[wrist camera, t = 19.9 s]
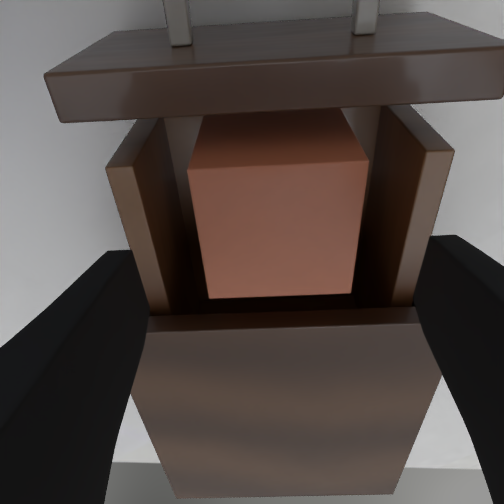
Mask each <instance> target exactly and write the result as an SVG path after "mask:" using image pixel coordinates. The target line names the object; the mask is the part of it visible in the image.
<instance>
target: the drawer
mask: <svg viewBox="0 0 504 504" xmlns="http://www.w3.org/2000/svg"><path fill="white" fill-rule="evenodd" d="M163 4H164V10H165V16H166V22H167V28H162V29H146V30H130V31H114V32H112V33H111V34H109V35H107V36H106V37H104V38H102V39H101V40H99V41H97V42H96V43H94V44H92V45H91V46H89V47H87V48H86V49H84V50H82V51H81V52H79V53H78V54H76V55H74V56H73V57H71V58H69V59H68V60H66V61H64V62H63V63H61V64H59V65H58V66H56V67H54V68H53V69H51V70H49V71H48V72H46V73H44V80H45V82H46V85H47V88H48V91H49V93H50V96H51V99H52V102H53V104H54V107H55V110H56V113H57V116H58V118H59V121H60V122H61V123H78V122H96V121H114V120H132V119H137V121H136V122H135V124H134V125H133V127H132V128H131V130H130V131H129V133H128V134H127V136H126V137H125V139H124V140H123V142H122V143H121V145H120V146H119V148H118V149H117V151H116V152H115V154H114V155H113V157H112V158H111V160H110V161H109V163H108V164H107V166H106V167H105V170H106V173H107V176H108V179H109V183H110V186H111V189H112V192H113V195H114V199H115V202H116V205H117V208H118V211H119V215H120V218H121V221H122V224H123V227H124V231H125V234H126V237H127V240H128V243H129V247H130V250H132V251H133V254H134V258H135V261H136V264H137V267H138V270H139V274H140V277H141V280H142V283H143V287H144V290H145V293H146V296H147V299H148V303H149V306H150V314H151V316H168V315H195V314H223V313H250V312H277V311H305V310H332V309H359V308H387V307H411V306H412V303H413V294H414V291H415V287H416V283H417V280H418V276H419V272H420V269H421V265H422V262H423V258H424V254H425V251H426V247H427V244H428V240H429V236H431V235H432V231H433V228H434V224H435V220H436V217H437V213H438V210H439V206H440V202H441V199H442V195H443V192H444V188H445V185H446V181H447V177H448V174H449V170H450V167H451V163H452V160H453V156H454V152H455V150H454V149H453V148H452V147H451V146H450V145H449V144H448V143H447V142H446V141H445V140H444V139H443V138H442V137H441V136H440V135H439V134H438V133H437V132H436V131H435V130H434V129H433V128H432V127H431V126H430V125H429V124H428V123H427V122H426V121H425V120H424V119H423V118H422V117H421V116H420V115H419V114H418V113H417V112H416V111H415V110H414V109H413V108H412V107H411V106H410V105H409V104H424V103H443V102H461V101H479V100H497V99H501V98H502V97H503V96H504V40H502V39H500V38H497V37H494V36H492V35H489V34H486V33H483V32H481V31H478V30H475V29H473V28H470V27H467V26H464V25H462V24H459V23H456V22H454V21H451V20H448V19H445V18H443V17H440V16H437V15H435V14H432V13H429V12H416V13H400V14H384V15H378V13H379V5H380V0H353V6H352V17H337V18H321V19H305V20H289V21H273V22H257V23H241V24H225V25H210V26H194V27H192V22H191V15H190V7H189V0H163ZM333 108H341V110H342V112H343V114H344V116H345V117H346V119H347V121H348V123H349V125H350V127H351V128H352V130H353V132H354V134H355V136H356V138H357V139H358V141H359V143H360V145H361V147H362V149H363V150H364V152H365V154H366V156H367V158H368V160H369V167H368V175H367V182H366V189H365V196H364V203H363V210H362V218H361V225H360V232H359V239H358V246H357V253H356V261H355V268H354V275H353V282H352V289H351V293H345V294H319V295H292V296H266V297H240V298H213V299H210V298H209V295H208V290H207V284H206V278H205V272H204V266H203V261H202V255H201V249H200V243H199V237H198V231H197V226H196V220H195V214H194V208H193V202H192V197H191V191H190V185H189V179H188V173H187V169H188V166H189V162H190V159H191V156H192V152H193V149H194V146H195V142H196V139H197V135H198V132H199V129H200V125H201V122H202V119H203V116H205V115H224V114H242V113H260V112H278V111H297V110H315V109H333Z"/></svg>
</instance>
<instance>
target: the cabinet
mask: <svg viewBox="0 0 504 504" xmlns="http://www.w3.org/2000/svg"><path fill="white" fill-rule="evenodd" d="M441 376H442V373H441V371H440V369H439V367H438V364H437V362H436V360H435V358H434V356H433V354H432V351H431V349H430V347H429V345H428V343H427V340H426V338H425V336H424V333H423V330H422V327H421V324H420V321H419V318H418V314H417V311H416V308H415V304H414V301H413V303H412V306H411V307H387V308H359V309H332V310H305V311H277V312H250V313H223V314H195V315H168V316H151V314H150V313H149V320H148V327H147V333H146V339H145V345H144V348H143V352H142V355H141V359H140V362H139V366H138V369H137V372H136V376H135V379H134V383H133V386H132V389H131V392H130V393H131V396H132V398H133V400H134V403H135V405H136V407H137V409H138V412H139V414H140V416H141V419H142V421H143V423H144V425H145V428H146V430H147V432H148V435H149V437H150V439H151V442H152V444H153V446H154V448H155V451H156V453H157V455H158V458H159V460H160V462H161V464H162V467H163V469H164V471H165V474H166V476H167V478H168V480H169V483H170V485H171V487H172V490H173V492H174V494H175V496H176V498H177V499H178V498H227V497H228V498H229V497H276V496H325V495H327V496H328V495H378V494H379V495H380V494H393V493H394V491H395V488H396V486H397V483H398V481H399V478H400V476H401V474H402V471H403V469H404V466H405V464H406V461H407V459H408V457H409V454H410V452H411V449H412V447H413V444H414V442H415V440H416V437H417V435H418V432H419V430H420V427H421V425H422V423H423V420H424V418H425V415H426V413H427V410H428V408H429V406H430V403H431V401H432V398H433V396H434V393H435V391H436V389H437V386H438V384H439V381H440V379H441Z"/></svg>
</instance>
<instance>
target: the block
mask: <svg viewBox="0 0 504 504" xmlns="http://www.w3.org/2000/svg"><path fill="white" fill-rule="evenodd" d="M368 167H369V160H368V158H367V156H366V154H365V152H364V150H363V149H362V147H361V145H360V143H359V141H358V139H357V138H356V136H355V134H354V132H353V130H352V128H351V127H350V125H349V123H348V121H347V119H346V117H345V116H344V114H343V112H342V110H341V108H333V109H315V110H297V111H278V112H260V113H242V114H224V115H205V116H203V119H202V122H201V125H200V129H199V132H198V135H197V139H196V142H195V146H194V149H193V152H192V156H191V159H190V162H189V166H188V169H187V173H188V179H189V185H190V191H191V197H192V202H193V208H194V214H195V220H196V226H197V231H198V237H199V243H200V249H201V255H202V261H203V266H204V272H205V278H206V284H207V290H208V295H209V298H210V299H213V298H240V297H266V296H292V295H319V294H345V293H351V289H352V282H353V275H354V268H355V261H356V253H357V246H358V239H359V232H360V225H361V218H362V210H363V203H364V196H365V189H366V182H367V175H368Z"/></svg>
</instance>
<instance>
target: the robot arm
mask: <svg viewBox="0 0 504 504" xmlns="http://www.w3.org/2000/svg"><path fill="white" fill-rule="evenodd" d="M413 301H414V304H415V308H416V311H417V314H418V318H419V321H420V324H421V327H422V330H423V333H424V336H425V338H426V340H427V343H428V345H429V347H430V349H431V351H432V354H433V356H434V358H435V360H436V362H437V364H438V367H439V369H440V371H441V373H442V375H443V377H444V379H445V382H446V384H447V386H448V388H449V390H450V392H451V394H452V396H453V399H454V401H455V403H456V405H457V407H458V409H459V411H460V414H461V416H462V418H463V420H464V423H465V425H466V427H467V430H468V432H469V435H470V437H471V440H472V442H473V445H474V448H475V451H476V454H477V457H478V460H479V462H480V465H481V468H482V471H483V474H484V476H485V480H486V483H487V485H488V489H489V492H490V495H491V498H492V501H493V504H504V266H502V265H501V264H500V263H498V262H497V261H495V260H494V259H492V258H491V257H489V256H488V255H486V254H485V253H483V252H482V251H480V250H479V249H477V248H476V247H474V246H473V245H471V244H470V243H468V242H467V241H465V240H464V239H462V238H460V237H459V236H457V235H440V236H429V240H428V244H427V247H426V251H425V254H424V258H423V262H422V265H421V269H420V272H419V276H418V280H417V283H416V287H415V291H414V294H413ZM149 313H150V306H149V303H148V299H147V296H146V293H145V290H144V287H143V283H142V280H141V277H140V274H139V270H138V267H137V264H136V261H135V258H134V254H133V251H132V250H116V251H107V252H106V253H105V254H104V255H102V256H101V257H100V258H99V259H98V260H97V261H96V262H95V263H94V264H93V265H92V266H91V267H90V268H88V269H87V270H86V271H85V272H84V273H83V274H82V275H81V276H80V277H79V278H78V279H77V280H76V281H75V282H74V283H73V284H72V285H71V286H70V287H69V288H68V289H66V290H65V291H64V292H63V293H62V294H61V295H60V296H59V297H58V298H57V299H56V300H55V301H54V302H53V303H52V304H50V305H49V306H48V307H47V308H46V309H45V310H44V311H43V312H42V313H40V314H39V315H38V316H37V317H36V318H35V319H34V320H32V321H31V322H30V323H29V324H28V325H27V326H25V327H24V328H23V329H22V330H21V331H20V332H18V333H17V334H16V335H15V336H14V337H13V338H12V339H10V340H9V341H8V342H7V343H6V344H4V345H3V346H2V347H1V348H0V504H104V501H105V495H106V490H107V485H108V480H109V474H110V469H111V464H112V459H113V454H114V449H115V445H116V441H117V437H118V433H119V429H120V426H121V423H122V419H123V416H124V412H125V409H126V406H127V402H128V399H129V396H130V392H131V389H132V386H133V383H134V379H135V376H136V372H137V369H138V366H139V362H140V359H141V355H142V352H143V348H144V345H145V339H146V333H147V327H148V320H149Z"/></svg>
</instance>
